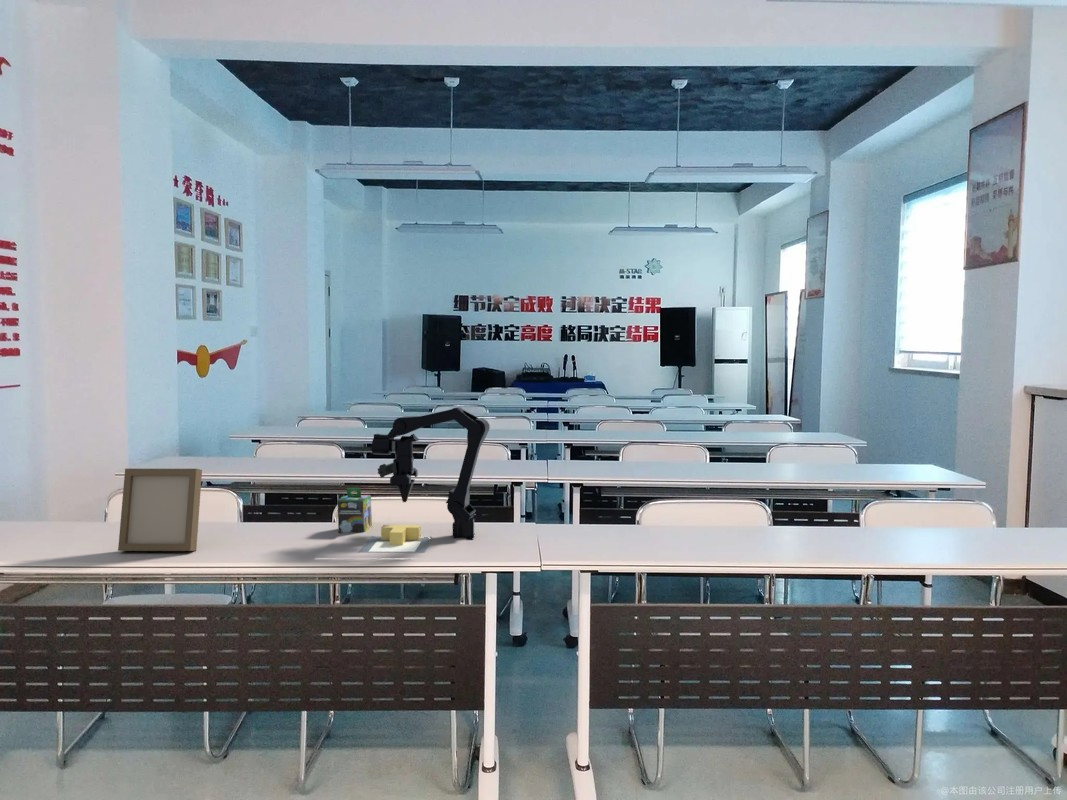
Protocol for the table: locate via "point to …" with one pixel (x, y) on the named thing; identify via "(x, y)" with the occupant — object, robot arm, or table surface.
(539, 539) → the table surface
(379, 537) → the mat
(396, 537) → the T block
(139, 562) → the table surface
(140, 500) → the photo frame
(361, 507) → the chalk box
